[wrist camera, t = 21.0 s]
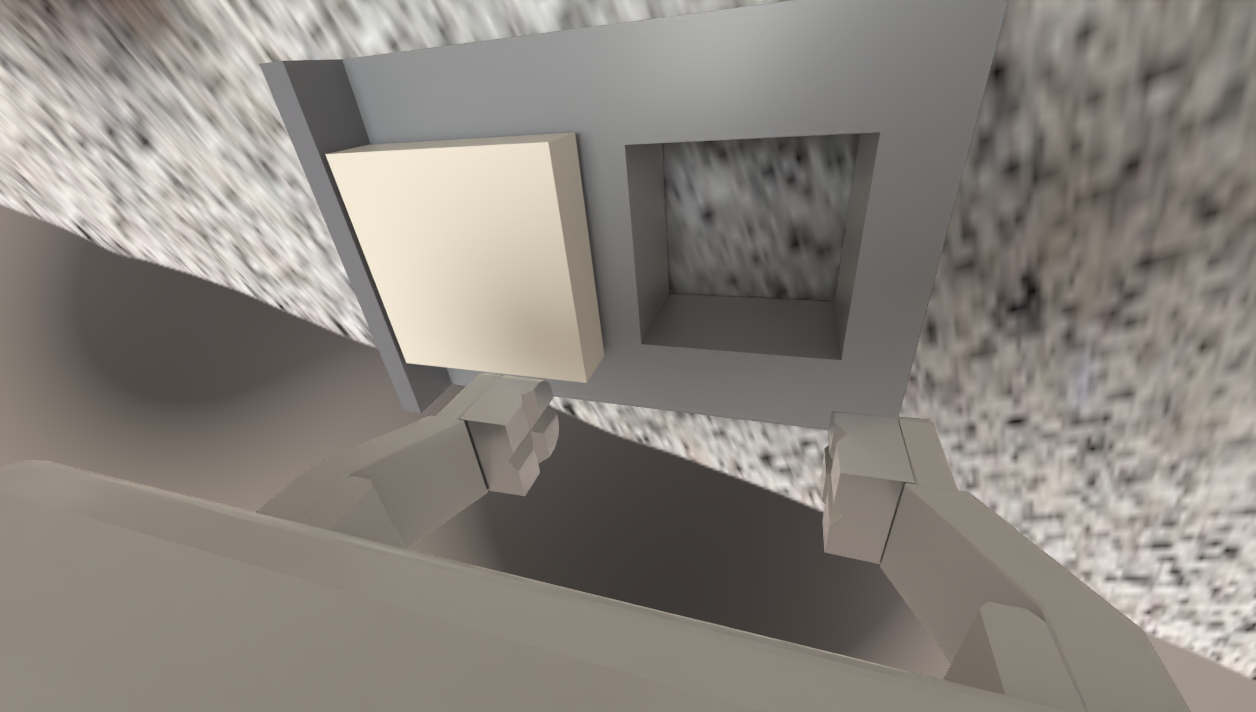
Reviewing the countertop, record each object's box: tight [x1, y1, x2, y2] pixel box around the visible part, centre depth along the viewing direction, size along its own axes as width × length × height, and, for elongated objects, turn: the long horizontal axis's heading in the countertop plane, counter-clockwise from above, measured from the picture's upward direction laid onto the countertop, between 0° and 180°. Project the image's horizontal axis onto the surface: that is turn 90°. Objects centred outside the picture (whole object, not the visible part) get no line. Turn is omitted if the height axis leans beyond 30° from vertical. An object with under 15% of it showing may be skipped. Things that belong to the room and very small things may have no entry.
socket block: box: [260, 0, 1008, 430], centre depth 19 cm, size 21×14×7 cm, turn 95°
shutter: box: [325, 132, 604, 383], centre depth 18 cm, size 8×8×2 cm
